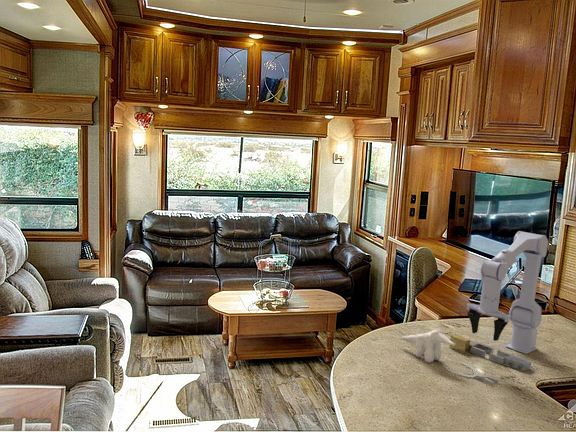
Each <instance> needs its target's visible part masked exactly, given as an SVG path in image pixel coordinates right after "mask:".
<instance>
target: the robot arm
mask: <svg viewBox="0 0 576 432" xmlns="http://www.w3.org/2000/svg"><path fill="white" fill-rule="evenodd" d="M548 247H549V240H548V238H547V235H545V234H538V233H537V234H536V233H531V232H526V231H522V230H518V231H517V232H516V233H515V235H514V236H513V242H512V244H511V245H509V247H508V248H507V249H506V248H505V249H502V250H500V252H498V253H497V254H496V255H495V256H494V257H493V258H491V260H490V259H488V260H485V261H484V262H483V263H482V264H481V268H480V276H481V279H480V281H481V282H482V286H481V294H480V302H479V304H475V303H467V304H466V310H467V317H468V319H469V322H470V326H471V331H472V332H471V333H472V334H477V333H478V331H479V323H480V319H481V316H482V315H485V316H488V317H491V318H494V319H495V320H493V325H494V330H493V332H494V333H493V337H492V339H493V341H494V342H496V341H499V339H500V336H501V334H502V332H503V330H504V329H505V327H506V326H507V325H508V323H509V322H511V324H512V330H511V331H512V332H511V337H510V343H508V344H505V348H507V349H511V350H514V351H516V352H520V353H522V354H525V355H526V354H529V353H532V352H534V351H537V350H538V349H539V348H538V347H537V346H536V345H537V344H536V343H537V337H538V336H537V335H538V330H537V329H538V327H539V326H540V324H541V322H542V318H543V317H542V306H540V305H539V304H538V302H536V300H535V299H536V292H537V287H538V281H539V276H540V275H539V274H540V267H541V262H542V258H545V257H546V256H547V254H548ZM521 254H523V255H524V257H525V262H524V268H523V269H524V270H523V275H522V276H523V277H522V282H521V289H520V295H519V298H518V299H515V300H514V301H513V302H512V303H511V306H510V309H509V311H508V313H505V312H503V311H501V310H499V304H500V298H501V291H502V290H501V289H502V283H503V281H504V280H505V278H506V275H507V273H508V271H509V269H510V268H511V267H512V266H513V265H514V264H516V262H517V257H518V256H520V255H521Z"/></svg>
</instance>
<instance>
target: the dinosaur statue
mask: <svg viewBox="0 0 576 432" xmlns="http://www.w3.org/2000/svg"><path fill="white" fill-rule="evenodd" d="M419 332H420V331H417V332H414V334H413V333H411V334H408V335H406V334H404V336H398V337H397V338H398V339H401V340H402V341H405V342H407V343H410V344H412V345H414V346H415V347H416V351H415V355H414V356H415V357H417V358H421V357H422V356H424V362H426V363H432V362H433V361H440V360H441V358H442V349H441V344H446V345H449V346H450V345H453V346H454V345H455V343H453V342H452V341H450V339H449V337H448V336H446V334H444V331H443V330H442V329H439V328H438V329H434V330H431V331H428V332H425V333H419Z"/></svg>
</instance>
